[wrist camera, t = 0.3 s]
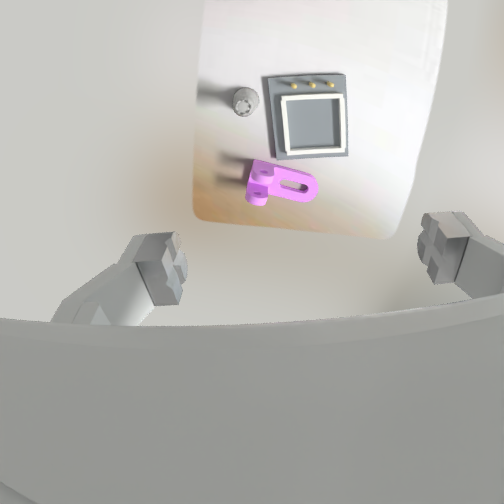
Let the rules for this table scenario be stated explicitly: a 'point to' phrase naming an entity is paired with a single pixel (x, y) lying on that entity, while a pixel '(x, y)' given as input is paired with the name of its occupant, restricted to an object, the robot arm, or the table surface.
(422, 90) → the table surface
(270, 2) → the table surface
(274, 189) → the bracket
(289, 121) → the board
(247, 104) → the rook chess piece
